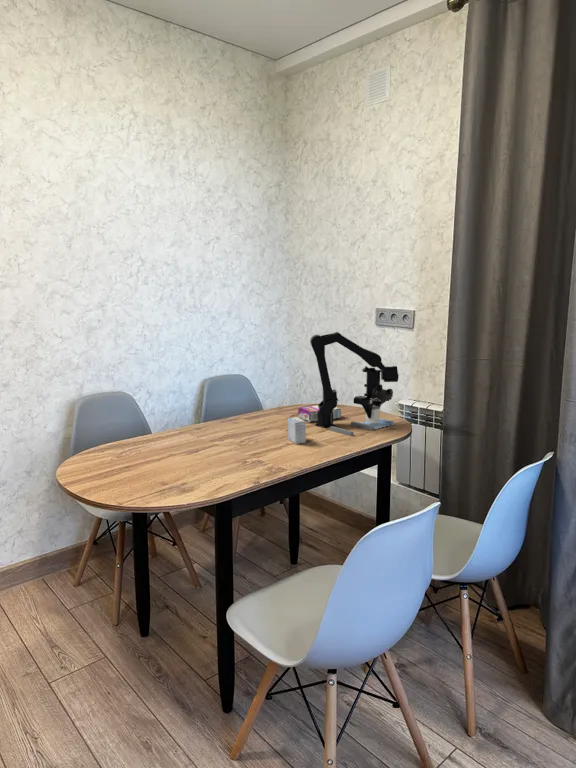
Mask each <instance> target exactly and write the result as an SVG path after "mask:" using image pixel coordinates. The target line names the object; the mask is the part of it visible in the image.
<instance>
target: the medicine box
mask: <svg viewBox="0 0 576 768" xmlns="http://www.w3.org/2000/svg"><path fill="white" fill-rule="evenodd" d="M306 431H307V430H306V420H303V419H301V418H299V417H298V416H296V417H289V418H287V439H288V440H289V441H290V442H292V443H293V444H295V445H298V444H299V445H300V443H301V444H306V443H307V441H306V440H307V437H306V435H307V434H306V433H307V432H306Z"/></svg>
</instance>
